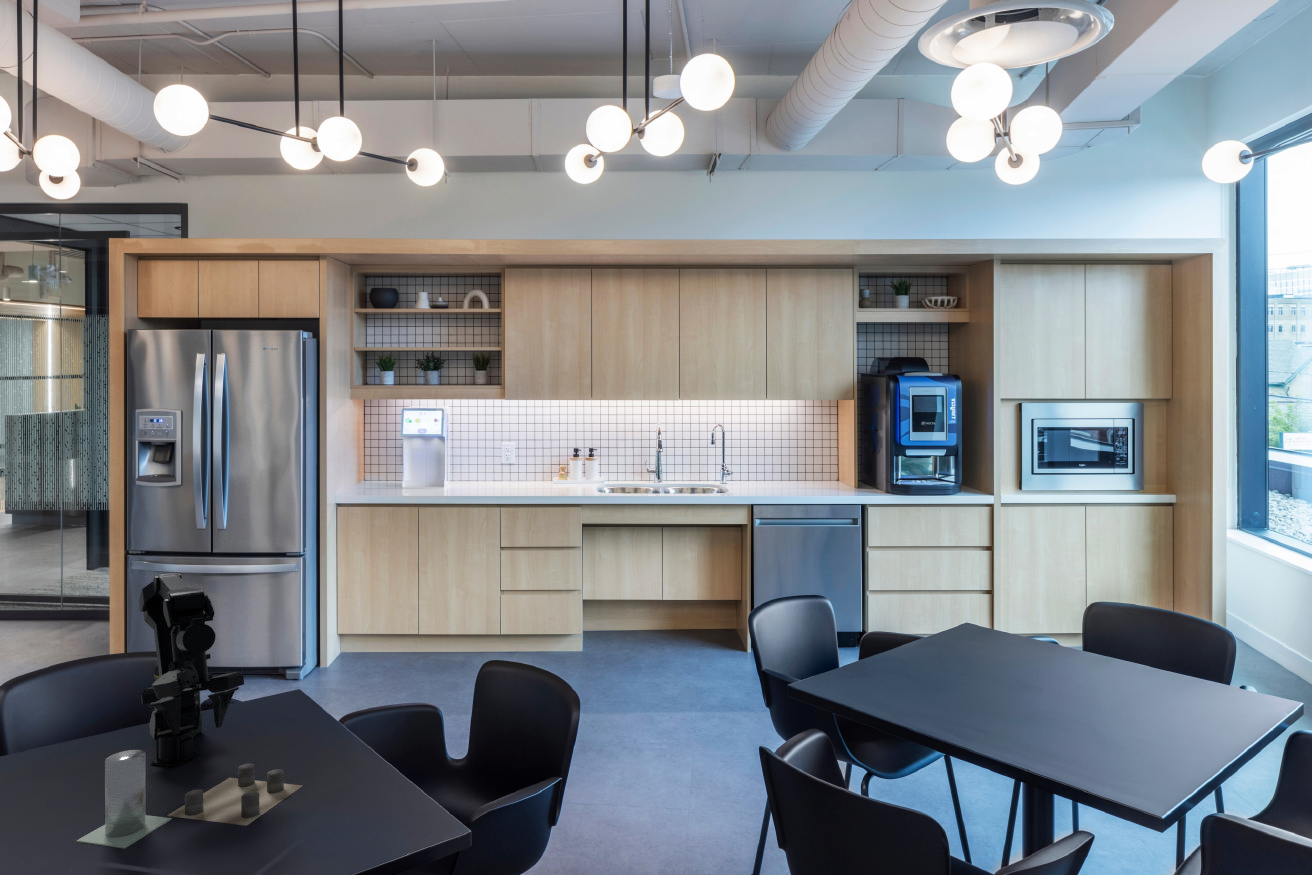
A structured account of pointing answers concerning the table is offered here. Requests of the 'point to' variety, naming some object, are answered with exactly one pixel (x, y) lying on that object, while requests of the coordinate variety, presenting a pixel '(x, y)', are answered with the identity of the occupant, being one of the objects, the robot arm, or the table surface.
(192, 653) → the robot arm
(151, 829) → the sage pad
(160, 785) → the table surface
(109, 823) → the clear upright cylinder
